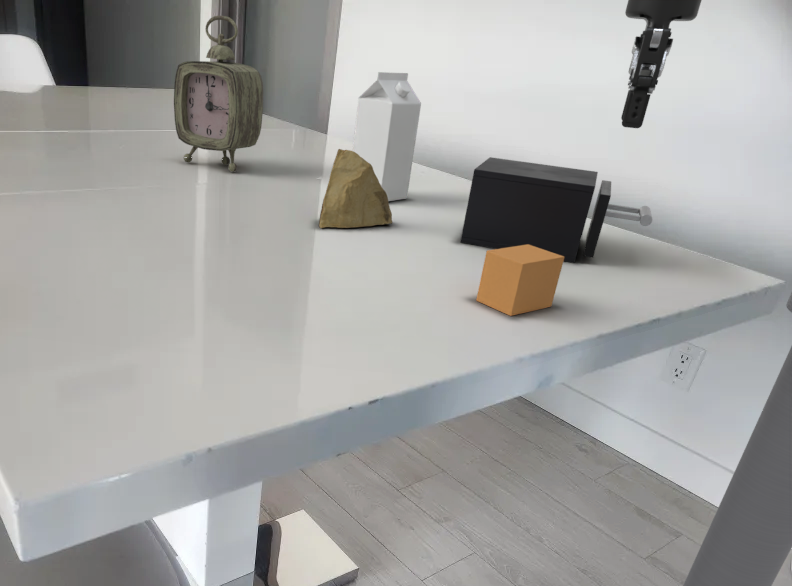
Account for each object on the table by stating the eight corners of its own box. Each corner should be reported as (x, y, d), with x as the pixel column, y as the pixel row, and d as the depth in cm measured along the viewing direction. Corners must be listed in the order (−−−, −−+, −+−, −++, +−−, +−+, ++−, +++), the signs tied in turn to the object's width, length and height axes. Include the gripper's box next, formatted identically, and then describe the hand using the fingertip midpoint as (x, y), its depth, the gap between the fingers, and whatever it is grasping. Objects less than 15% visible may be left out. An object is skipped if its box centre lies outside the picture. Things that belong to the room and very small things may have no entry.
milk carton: (347, 194, 112) (360, 70, 104) (375, 190, 117) (390, 71, 108) (379, 203, 108) (396, 74, 99) (407, 199, 112) (425, 75, 104)
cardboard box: (516, 292, 74) (528, 244, 71) (551, 306, 70) (564, 256, 68) (475, 300, 70) (486, 250, 68) (510, 316, 67) (523, 263, 64)
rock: (398, 202, 99) (333, 185, 100) (409, 161, 91) (338, 142, 92) (380, 261, 94) (312, 242, 95) (391, 222, 86) (316, 202, 87)
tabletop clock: (173, 162, 126) (173, 11, 115) (205, 157, 133) (207, 15, 122) (234, 175, 120) (240, 16, 108) (264, 169, 126) (272, 20, 115)
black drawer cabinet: (579, 240, 96) (597, 171, 92) (574, 263, 86) (595, 186, 81) (476, 223, 101) (489, 157, 96) (460, 242, 90) (474, 169, 86)
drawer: (637, 245, 93) (655, 187, 89) (640, 266, 83) (660, 202, 80) (498, 221, 99) (509, 167, 95) (485, 239, 89) (497, 179, 86)
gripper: (717, -35, 68) (667, 133, 76) (702, -22, 80) (660, 123, 87) (637, -37, 71) (596, 126, 78) (634, -24, 83) (598, 117, 90)
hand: (630, 124), depth 83 cm, fingers open, 8 cm apart
